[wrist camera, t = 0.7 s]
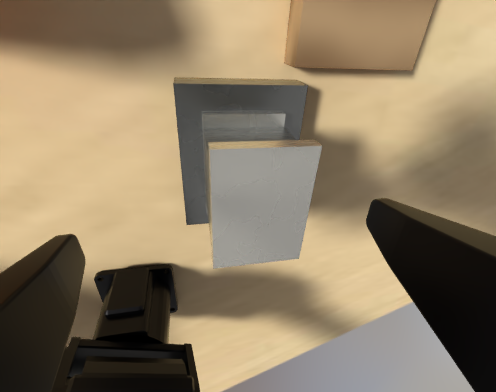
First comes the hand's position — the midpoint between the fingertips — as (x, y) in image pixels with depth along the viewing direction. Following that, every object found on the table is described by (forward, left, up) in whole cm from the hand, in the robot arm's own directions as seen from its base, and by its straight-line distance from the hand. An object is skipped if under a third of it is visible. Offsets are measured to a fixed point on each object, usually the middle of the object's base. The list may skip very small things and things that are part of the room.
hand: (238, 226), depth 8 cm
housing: (-3, -2, -10) cm, 11 cm away
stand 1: (-3, -2, -12) cm, 13 cm away
